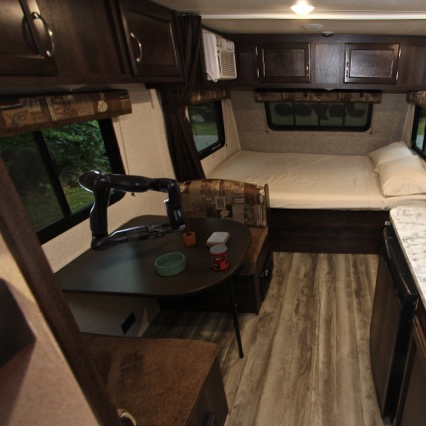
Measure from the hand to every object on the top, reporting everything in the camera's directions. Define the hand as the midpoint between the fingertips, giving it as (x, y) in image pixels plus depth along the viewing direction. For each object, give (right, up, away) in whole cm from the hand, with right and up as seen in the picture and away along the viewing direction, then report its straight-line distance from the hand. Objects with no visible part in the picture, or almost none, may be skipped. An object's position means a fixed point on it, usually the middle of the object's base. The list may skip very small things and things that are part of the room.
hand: (171, 227), depth 160 cm
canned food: (+31, -20, -10) cm, 38 cm away
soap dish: (+23, -10, +9) cm, 27 cm away
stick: (+7, -9, +9) cm, 15 cm away
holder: (+7, -10, +9) cm, 15 cm away
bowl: (+6, -20, -12) cm, 24 cm away
